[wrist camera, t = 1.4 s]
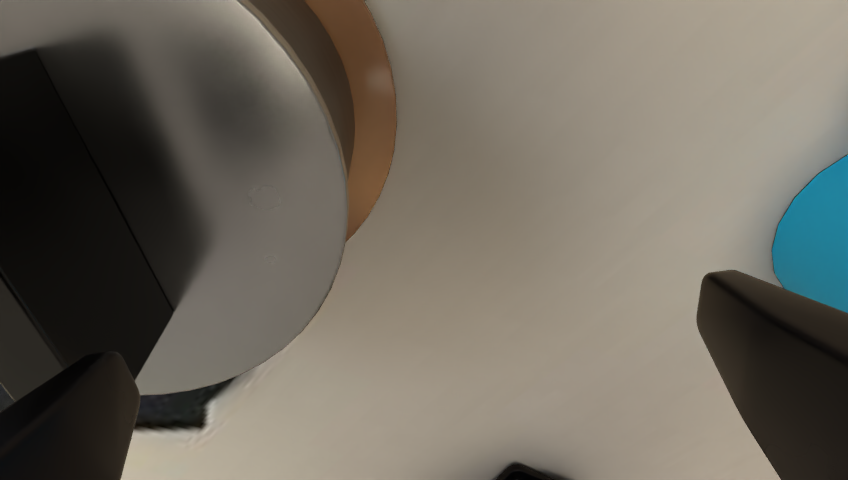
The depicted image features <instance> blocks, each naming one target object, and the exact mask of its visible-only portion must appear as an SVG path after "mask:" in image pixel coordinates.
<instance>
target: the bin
mask: <svg viewBox="0 0 848 480" xmlns="http://www.w3.org/2000/svg"><path fill="white" fill-rule="evenodd" d="M354 136H355V118H354V104H353V99H352V94H351V89H350V84H349V81H348V78H347V75H346V72H345V69H344V66H343V63H342V60H341V58H340V56H339V54H338V52H337V50H336V47H335V45H334V43H333V41H332V39H331V37H330V36H329V34H328V32H327V31H326V29H325V28H324V26H323V25H322V23H321V22H320V20H319V18H318V17H317V15H316V14H315V13H314V12H313V10H312V9H311V8H310V7H309V6H308V4H307V3H306V2H305V1H304V0H0V383H1V385H2V386H3V387H4V388H5V390H6V391H7V392H8V394H9V395H10V396H11V397H12V399H13V400H14V401H15V402H16V401H17V400H19V399H20V398H22V397H23V396H25V395H27V394H28V393H30V392H31V391H33V390H34V389H36V388H37V387H39V386H40V385H42V384H43V383H45V382H46V381H48V380H49V379H51V378H52V377H54V376H55V375H57V374H58V373H60V372H61V371H63V370H65V369H66V368H68V367H69V366H71V365H72V364H74V363H75V362H77V361H78V360H80V359H81V358H83V357H84V356H86V355H89V354H93V353H101V352H108V351H114V352H117V353H119V354H120V355H121V356H122V358H123V359H124V361H125V363H126V365H127V367H128V369H129V371H130V373H131V375H132V377H133V379H134V381H135V383H136V385H137V387H138V390H139V393H140V395H157V394H169V393H176V392H182V391H189V390H194V389H198V388H202V387H206V386H210V385H214V384H217V383H220V382H223V381H225V380H228V379H230V378H233V377H236V376H238V375H241V374H243V373H245V372H247V371H249V370H250V369H252V368H254V367H256V366H258V365H260V364H262V363H264V362H265V361H266V360H268V359H269V358H271V357H272V356H274V355H275V354H276V353H278V352H279V351H281V350H282V349H283V348H285V347H286V346H287V345H288V344H289V343H290V342H291V341H292V340H293V339H294V338H295V337H296V336H297V335H299V334H300V333H301V332H302V331H303V330H304V328H305V327H306V326H307V325H308V323H309V322H310V321H311V320H312V318H313V317H314V316H315V315H316V313H317V312H318V311H319V309H320V307H321V305H322V304H323V302H324V300H325V299H326V297H327V295H328V293H329V292H330V290H331V288H332V285H333V282H334V280H335V277H336V275H337V272H338V270H339V267H340V264H341V260H342V255H343V250H344V246H345V241H346V236H347V228H348V213H349V193H348V178H349V172H350V166H351V160H352V154H353V149H354Z"/></svg>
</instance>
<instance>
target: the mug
mask: <svg viewBox="0 0 848 480" xmlns="http://www.w3.org/2000/svg"><path fill="white" fill-rule="evenodd" d="M772 256H773V265H774V273H775V274H776V276H777V278H778V279H779V281H780V282H781V284H782V286H783V287H784V289H786V290H789V291H791V292H794V293H797V294H799V295H802V296H805V297H807V298H810V299H812V300H815V301H818V302H820V303H823V304H826V305H828V306H831V307H834V308H836V309H839V310H841V311H844V312H847V313H848V155H847V156H845V157H843V158H842V159H840V160H839V161H837V162H836V163H834V164H833V165H831V166H830V167H828V168H827V169H825V170H824V171H822V172H820V173H819V174H818V175H817V176H816V177H815V178H814V179H813V180H812V181H811V182H810V183H809V184H808V185H807V186H806V187H805V188H804V189H803V190H802V191H801V192H800V193H799V194H798V195H797V196H796V197H795V198H794V200H793V202H792V203H791V205H790V206H789V208H788V210H787V211H786V213H785V215H784V216H783V218H782V220H781V221H780V223H779V225H778V229H777V232H776V236H775V240H774V244H773V248H772Z"/></svg>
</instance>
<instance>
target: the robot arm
mask: <svg viewBox="0 0 848 480" xmlns="http://www.w3.org/2000/svg"><path fill="white" fill-rule="evenodd" d="M697 326H698V330H699V332H700V335H701V337H702V339H703V341H704V343H705V345H706V347H707V349H708V351H709V353H710V355H711V357H712V359H713V361H714V363H715V365H716V367H717V369H718V371H719V373H720V375H721V377H722V379H723V381H724V383H725V385H726V387H727V389H728V391H729V393H730V395H731V397H732V399H733V401H734V403H735V405H736V407H737V409H738V411H739V413H740V415H741V416H742V418H743V420H744V422H745V423H746V425H747V427H748V428H749V430H750V431H751V433H752V435H753V436H754V438H755V439H756V441H757V443H758V444H759V446H760V447H761V449H762V450H763V452H764V453H765V455H766V457H767V458H768V460H769V461H770V463H771V464H772V466H773V468H774V469H775V471H776V472H777V474H778V475H779V477H780V479H781V480H848V313H847V312H844V311H841V310H839V309H836V308H834V307H831V306H828V305H826V304H823V303H820V302H818V301H815V300H812V299H810V298H807V297H805V296H802V295H799V294H797V293H794V292H791V291H789V290H786V289H784V288H781V287H778V286H776V285H773V284H770V283H768V282H765V281H763V280H760V279H757V278H755V277H752V276H749V275H747V274H744V273H741V272H739V271H736V270H726V271H719V272H711V273H708V274H706V275H705V276H704V278H703V280H702V284H701V290H700V297H699V304H698V310H697ZM139 406H140V393H139V390H138V387H137V385H136V383H135V381H134V379H133V377H132V375H131V373H130V371H129V369H128V367H127V365H126V363H125V361H124V359H123V358H122V356H121V355H120V354H119V353H117V352H114V351H108V352H101V353H93V354H89V355H86V356H84V357H83V358H81V359H80V360H78V361H77V362H75V363H74V364H72V365H71V366H69V367H68V368H66V369H65V370H63V371H61V372H60V373H58V374H57V375H55V376H54V377H52V378H51V379H49V380H48V381H46V382H45V383H43V384H42V385H40V386H39V387H37V388H36V389H34V390H33V391H31V392H30V393H28V394H27V395H25V396H23V397H22V398H20V399H19V400H17V401H16V402H14V403H13V404H11V405H10V406H8V407H7V408H5V409H4V410H2V411H1V412H0V480H120V479H121V475H122V472H123V468H124V464H125V460H126V456H127V452H128V449H129V445H130V441H131V437H132V433H133V429H134V426H135V422H136V418H137V414H138V410H139ZM496 480H554V479H552V478H549V477H547V476H545V475H542V474H540V473H538V472H535V471H533V470H531V469H528V468H526V467H524V466H521V465H512V466H510V467H508V468H507V469H506V470H505V471H504V472H503V473H502V474H501V475H500V476H499V477H498V478H497V479H496Z"/></svg>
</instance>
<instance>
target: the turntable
mask: <svg viewBox="0 0 848 480" xmlns="http://www.w3.org/2000/svg"><path fill="white" fill-rule="evenodd" d="M304 1H305V2H306V3H307V4H308V6H309V7H310V8H311V9H312V10H313V12H314V13H315V14H316V15H317V17H318V18H319V20H320V22H321V23H322V25H323V26H324V28H325V29H326V31H327V32H328V34H329V36H330V37H331V39H332V41H333V43H334V45H335V47H336V50H337V52H338V54H339V56H340V58H341V60H342V63H343V66H344V69H345V72H346V75H347V78H348V81H349V84H350V89H351V94H352V99H353V104H354V118H355V136H354V149H353V154H352V160H351V166H350V172H349V178H348V193H349V213H348V228H347V236H346V241H347V240H348V239H349V238H350V237H351V236H352V235H353V234H354V233H355V232H356V231H357V230H358V228H359V227H360V226H361V224H362V223H363V222H364V220H365V219H366V218H367V217H368V215H369V213H370V212H371V210H372V208H373V206H374V205H375V203H376V201H377V199H378V198H379V196H380V193H381V191H382V188H383V186H384V183H385V181H386V178H387V176H388V173H389V169H390V165H391V161H392V157H393V152H394V146H395V136H396V127H397V119H396V94H395V88H394V82H393V76H392V70H391V66H390V62H389V59H388V56H387V52H386V49H385V45H384V42H383V39H382V37H381V35H380V32H379V30H378V28H377V26H376V23H375V21H374V19H373V16H372V14H371V12H370V10H369V9H368V7H367V5H366V4H365V2H364V0H304ZM346 241H345V242H346Z"/></svg>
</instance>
